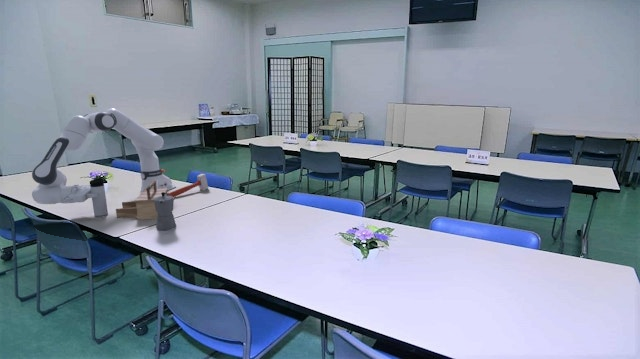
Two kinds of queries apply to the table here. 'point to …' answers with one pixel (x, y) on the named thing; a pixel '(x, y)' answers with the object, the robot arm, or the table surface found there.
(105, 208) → the travel mug
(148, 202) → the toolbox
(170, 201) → the coffeepot
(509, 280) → the table surface
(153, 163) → the robot arm
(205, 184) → the mallet
